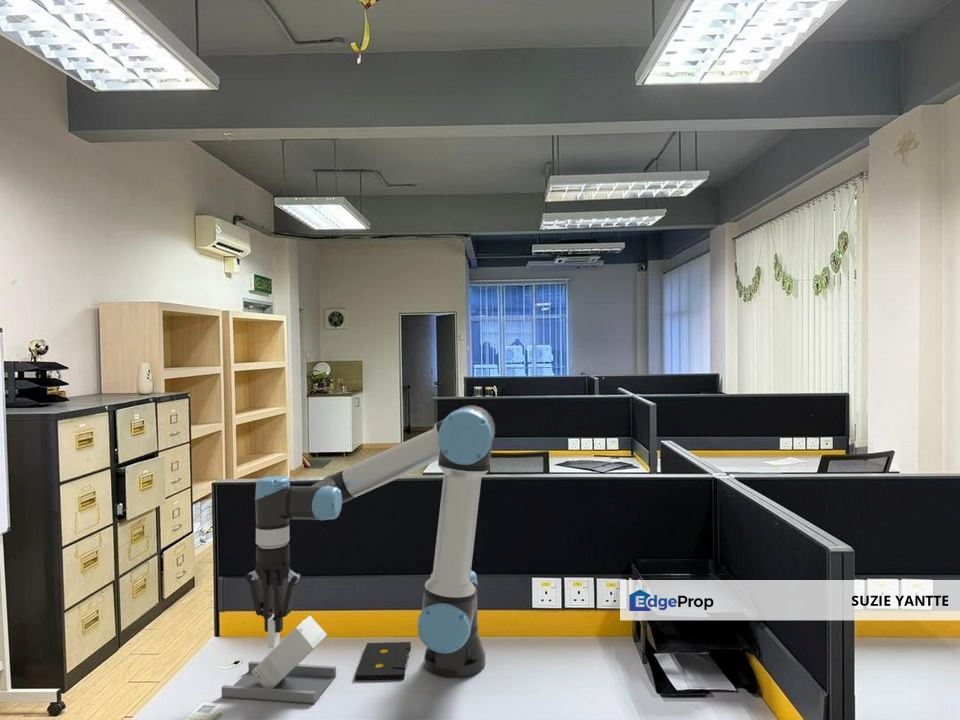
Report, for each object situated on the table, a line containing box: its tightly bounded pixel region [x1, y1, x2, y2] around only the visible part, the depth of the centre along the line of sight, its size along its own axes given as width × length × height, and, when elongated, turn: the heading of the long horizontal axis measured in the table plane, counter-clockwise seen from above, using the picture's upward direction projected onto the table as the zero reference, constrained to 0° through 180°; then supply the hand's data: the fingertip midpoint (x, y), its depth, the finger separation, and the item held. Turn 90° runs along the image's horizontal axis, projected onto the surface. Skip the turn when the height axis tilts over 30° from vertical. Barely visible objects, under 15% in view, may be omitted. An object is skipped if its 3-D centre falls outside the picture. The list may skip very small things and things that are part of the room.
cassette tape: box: [354, 641, 412, 682], centre depth 165 cm, size 18×12×2 cm, turn 1°
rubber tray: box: [221, 660, 337, 706], centre depth 154 cm, size 22×13×2 cm, turn 81°
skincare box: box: [251, 615, 328, 688], centre depth 153 cm, size 8×7×16 cm
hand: (273, 645), depth 154 cm, fingers closed
